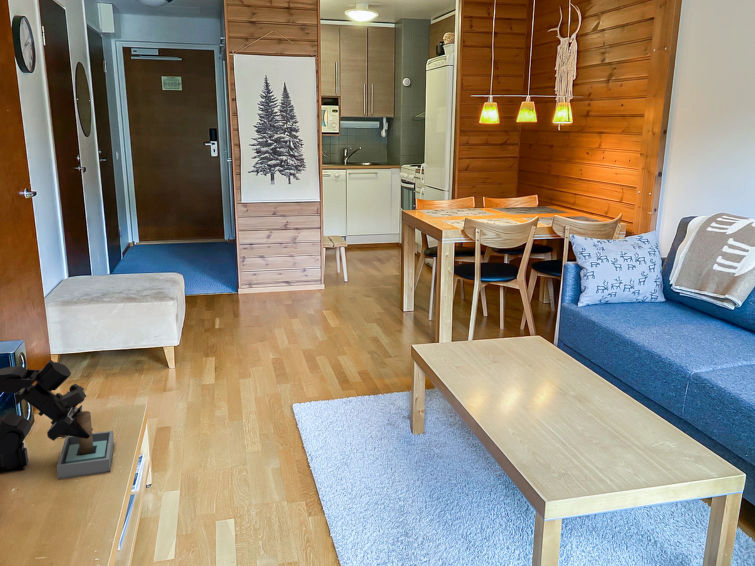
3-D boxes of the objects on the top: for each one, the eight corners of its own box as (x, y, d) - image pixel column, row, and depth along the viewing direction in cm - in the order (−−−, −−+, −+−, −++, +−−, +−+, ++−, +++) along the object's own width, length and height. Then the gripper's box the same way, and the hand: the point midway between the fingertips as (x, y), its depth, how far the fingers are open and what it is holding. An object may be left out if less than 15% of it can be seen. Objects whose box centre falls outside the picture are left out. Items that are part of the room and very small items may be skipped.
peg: (77, 457, 177) (73, 415, 174) (86, 451, 181) (82, 410, 178) (87, 459, 176) (84, 417, 173) (96, 453, 180) (93, 412, 177)
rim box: (58, 479, 169) (56, 466, 168) (67, 448, 185) (65, 436, 184) (109, 472, 173) (108, 459, 172) (113, 442, 189) (112, 430, 188)
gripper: (56, 393, 164) (104, 429, 169) (73, 368, 181) (115, 401, 186) (26, 423, 163) (75, 457, 169) (46, 395, 181) (89, 427, 186)
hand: (90, 434), depth 177 cm, fingers closed on peg, 4 cm apart
